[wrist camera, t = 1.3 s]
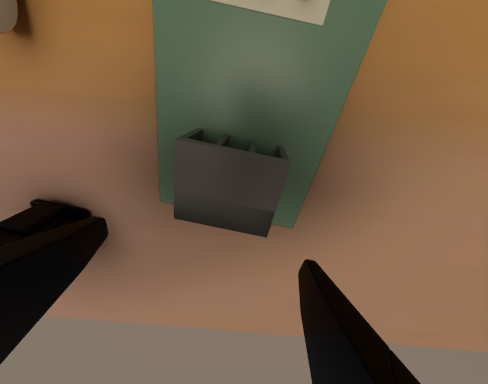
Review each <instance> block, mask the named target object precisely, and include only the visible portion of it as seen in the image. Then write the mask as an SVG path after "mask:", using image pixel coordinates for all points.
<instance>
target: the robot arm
mask: <svg viewBox="0 0 488 384" xmlns="http://www.w3.org/2000/svg"><path fill="white" fill-rule="evenodd" d="M30 205H31V208H29V209H26V210H24V211H22V212H20V213H18V214H16V215H14V216H12V217H10V218H8V219H5V220H3V221H1V222H0V364H1V363H2V362H3V361H4V360H5V359H6V357H7V356H8V355H9V354H10V353H11V351H12V350H13V349H14V348H15V347H16V346H17V345H18V344H19V343H20V341H21V340H22V339H23V338H24V337H25V336H26V334H27V333H28V332H29V331H30V330H31V329H32V328H33V326H34V325H35V324H36V323H37V322H38V321H39V319H40V318H41V317H42V316H43V315H44V314H45V313H46V312H47V310H48V309H49V308H50V307H51V306H52V305H53V304H54V302H55V301H56V300H57V299H58V298H59V297H60V296H61V294H62V293H63V292H64V291H65V290H66V289H67V288H68V286H69V285H70V284H71V283H72V282H73V281H74V280H75V278H76V277H77V276H78V275H79V274H80V273H81V271H82V270H83V269H84V268H85V266H86V265H87V264H88V262H89V261H90V260H91V258H92V257H93V256H94V254H95V253H96V251H97V250H98V249H99V247H100V246H101V245H102V243H103V242H104V240H105V239H106V238H107V236H108V229H107V224H106V220H105V219H104V218H101V217H96V216H93V217H91V216H90V213H89V212H88V211H87V210H85V209H81V208H76V207H71V206H66V205H61V204H57V203H52V202H47V201H42V200H37V199H35V200H33V201H31V202H30ZM298 279H299V295H300V310H301V318H302V324H303V330H304V336H305V342H306V348H307V354H308V360H309V366H310V372H311V378H312V384H420V383H419V381H418V380H417V379H416V378H415V377H414V376H413V374H411V372H410V371H409V370H408V369H407V368H406V367H405V365H404V364H403V363H402V362H401V361H400V360H399V358H398V357H397V356H396V355H395V354H394V353H393V352H392V351H391V350H390V349H389V347H388V346H387V344H386V343H385V342H384V341H383V340H382V339H381V337H380V336H379V335H378V334H377V333H376V332H375V330H374V329H373V328H372V327H371V326H370V325H369V323H368V322H367V321H366V320H365V319H364V318H363V316H362V315H361V314H360V313H359V312H358V311H357V309H356V308H355V307H354V306H353V305H352V304H351V302H350V301H349V300H348V299H347V298H346V296H345V295H344V294H343V293H342V292H341V291H340V289H339V288H338V287H337V286H336V285H335V284H334V282H333V281H332V280H331V279H330V278H329V277H328V275H327V274H326V273H325V272H324V271H323V270H322V268H321V267H320V266H319V265H318V264H317V263H316V262H315V261H313V260H308V259H306V260H305V261H304V262H303V264H302V266H301V268H300V270H299V274H298Z"/></svg>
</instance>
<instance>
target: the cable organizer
mask: <svg viewBox="0 0 488 384" xmlns="http://www.w3.org/2000/svg"><path fill="white" fill-rule="evenodd" d="M17 18H18V5H17V0H0V33H6V32H8V31H10V30H12V29H13V28H14V26H15V25H16V22H17Z"/></svg>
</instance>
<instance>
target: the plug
mask: <svg viewBox="0 0 488 384" xmlns="http://www.w3.org/2000/svg"><path fill="white" fill-rule="evenodd" d="M202 137H203V129H200V128H197V129H195V130H193V131H191V132H188V133H186V134H184V135H182V136H180V137H178V138H176V139H174V218H175V219H180V220H184V221H189V222H194V223H199V224H204V225H209V226H214V227H218V228H223V229H228V230H233V231H238V232H243V233H247V234H252V235H257V236H262V237H267V235H268V232H269V229H270V226H271V223H272V220H273V217H274V214H275V211H276V208H277V205H278V202H279V199H280V196H281V193H282V190H283V187H284V184H285V181H286V178H287V175H288V172H289V169H290V166H291V163H290V160H289V158H288V156H287V154H286V152H285V150H284V147H283V146H279V145H278V146H277V150H276V153H275V157H272V156H268V155H263V154H258V153H255V151H256V141H255V140H251V143H250V147H249V151H244V150H240V149H235V148H230V147H228V144H229V138H230V135H227V134H224V135H223V136H222V137H221V138H220V139H219V140H218V141H217V142H216V143H215V144H212V143H207V142H202Z"/></svg>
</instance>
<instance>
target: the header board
mask: <svg viewBox="0 0 488 384" xmlns="http://www.w3.org/2000/svg"><path fill="white" fill-rule="evenodd" d="M386 1H387V0H152V6H153V31H154V57H155V82H156V108H157V133H158V159H159V184H160V201H162V202H167V203H172V204H174V139H176V138H178V137H180V136H182V135H184V134H186V133H188V132H191V131H193V130H195V129H197V128H200V129H203V137H202V142H207V143H212V144H215V143H216V142H217V141H218V140H219V139H220V138H221V137H222V136H223V135H224V134H227V135H230V138H229V144H228V147H230V148H235V149H240V150H244V151H249V147H250V143H251V140H255V141H256V151H255V153H258V154H263V155H268V156H272V157H275V153H276V150H277V146H278V145H279V146H283V147H284V150H285V152H286V154H287V156H288V158H289V160H290V163H291V166H290V169H289V172H288V175H287V178H286V181H285V184H284V187H283V190H282V193H281V196H280V199H279V202H278V205H277V208H276V211H275V214H274V217H273V220H272V223H271V224H273V225H278V226H283V227H288V228H293V226H294V223H295V221H296V219H297V216H298V214H299V211H300V209H301V207H302V204H303V202H304V199H305V197H306V194H307V192H308V190H309V187H310V185H311V182H312V180H313V178H314V175H315V173H316V170H317V168H318V165H319V163H320V161H321V158H322V156H323V153H324V151H325V149H326V146H327V144H328V141H329V139H330V137H331V134H332V132H333V129H334V127H335V124H336V122H337V120H338V117H339V115H340V112H341V110H342V108H343V105H344V103H345V100H346V98H347V95H348V93H349V91H350V88H351V86H352V83H353V81H354V79H355V76H356V74H357V71H358V69H359V66H360V64H361V62H362V59H363V57H364V54H365V52H366V50H367V47H368V45H369V42H370V40H371V38H372V35H373V33H374V30H375V28H376V25H377V23H378V21H379V18H380V16H381V13H382V11H383V9H384V6H385V4H386Z"/></svg>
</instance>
